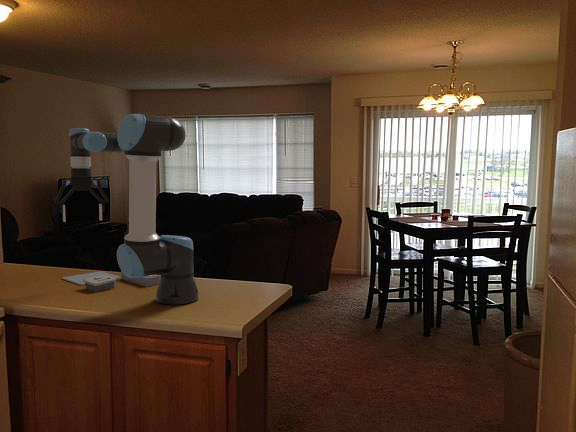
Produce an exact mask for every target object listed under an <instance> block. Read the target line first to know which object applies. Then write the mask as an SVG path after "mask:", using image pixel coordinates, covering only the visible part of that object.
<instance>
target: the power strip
mask: <svg viewBox="0 0 576 432" xmlns="http://www.w3.org/2000/svg"><path fill="white" fill-rule="evenodd" d="M120 277H121V279H120V280H123V281H126V282H130V283H132V284H136V285H140V286H142V287H146V288H148V287H153V286H159V283H160V279H161V275H158V274H156V275H151V276H145V277H142V278H139V277H138V278H129V277H127V276H125V275H124V273H123V272H122V271H120Z"/></svg>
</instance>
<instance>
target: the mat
mask: <svg viewBox="0 0 576 432" xmlns="http://www.w3.org/2000/svg"><path fill="white" fill-rule="evenodd" d="M100 275H106V276H109V277H112V278H115V279H116V280H122V279H121V276H119V275H116V274H113V273H108V272H107V271H106V272H105V271H102V270H101V271H96V272H95V271H94V272H87V273H83V274H81V273H80V274H75V275H71V276H69V275H68V276H63V277H61V279H62V280H63V281H66V282H70V283H71V284H72V283H73V284H75V285H78V286H81V287H82V286H86V285H85V282H83V280H84V279H88V278H92V277H96V276H100Z"/></svg>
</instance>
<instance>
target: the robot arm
mask: <svg viewBox="0 0 576 432" xmlns="http://www.w3.org/2000/svg"><path fill="white" fill-rule="evenodd" d="M68 134H69V137H68V140H69V154H70V155H69V157H70V161H69V163H70V167H72V168H71V169H70V180H66V179H63V180H62V183H61V184H62V185H61V187H60V189H59V191H58V194H57V195H56V197H55V199H54V201H53V203H54V204H55V205H58V206H59V213H60V214H62V221H63V223H66V221H67V220H66V205H65V203H66V202H67V200H68V199H69V198H70V197H71V196H72V194H74V193H75V191H76V192H81V191H82V192H87V191H89V192H90V193H91V194H92V196H94V197H95V199H97V200H98V202H99V203H98V210H99V221H103V212H105V211H106V209H105V208H106V207H105V205H106V204H107V203H109V202H110V199H109V197H108V195H107V194H106V192H105V190H104V189H103V187H102V185H101V180H100V179H94V180H93V178H92V169H91V168H90V167H92V159H91V158H92V157H91V153H118V154H119V153H122V154H124V156H125V158H126V159H128V161H129V168H128V169H129V170H128V173H129V175H128V177H129V178H128V179H129V181H128V182H129V183H128V184H129V185H128V186H129V187H128V188H129V189H128V190H129V192H128V196H129V198H128V211H129V212H128V233H127V234H126V235H125V236H124V238H123V241H124V242H123V243H122V244H120V245H119V246H118V247H117V249H116V259H117V263H118V266H119V269H120V270H121V271H122V272H123V273H124V275H125V276H127V277H129V278H138V277H139V278H142V277H145V276H151V275H160V283H159V285H157V290H156V293H155V302H157V303H158V304H163V305H185V304H191V303H194V302H196V301H198V300H199V297H200V295H199V294H200V293H199V289H198V286H197V284H196V281H195V277H194V242H193V239H191V238H190V237H187V236H182V235H169V234H166V235H165V234H162V235H159V234H157V232H156V230H157V229H156V228H157V227H156V225H157V223H156V220H157V219H156V217H157V216H156V215H157V214H156V213H157V211H156V210H157V162H158V161H159V160H160V159H161V157H162V152H171V151H175V150H177V149H179V148H181V147H182V145H184V143H185V140H186V129H185V127H184V125H183V124H182V123H181V122H180V121H179V120H178V119H176V118H174V117H171V116H168V115H165V116H162V115H152V114H146V113H145V114H144V113H143V114H142V113H129V114H127V115H125V116H124V117H123V118H122V120H121V121H120V122H119V125H118V128H117V133H110V132H99V131H93V130H92V131H90V129H89V128H86V127H85V128H84V127H72V128H70V129H69V133H68ZM69 184H70V185H71V187H72V188H71V189H70V190H69V191H68V192H67V194H65V196H64V197H63V198H62V199H61V197H62V195H63V193H64V191H65V190H66V188H67V186H68V185H69ZM93 184H94V185H95V186H97V189H98V190H99V192H100V194H101V195H102V197H103V199H102V198H101V197H100V195H99V194H98V193H97V192H96V191H95V190H94V189H93V188H92V185H93ZM60 199H61V200H60ZM121 271H120V272H121Z"/></svg>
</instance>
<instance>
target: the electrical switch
mask: <svg viewBox="0 0 576 432" xmlns="http://www.w3.org/2000/svg"><path fill="white" fill-rule="evenodd" d="M116 281H117V279H115V278H112V277H109V276H106V275H100V276H96V277H92V278H88V279H84V280H83V282H85V285H84V286H85V289H86V290H88V291H92V292H95V293H99V292H103V291H108V290H112V289H115V282H116Z"/></svg>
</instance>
